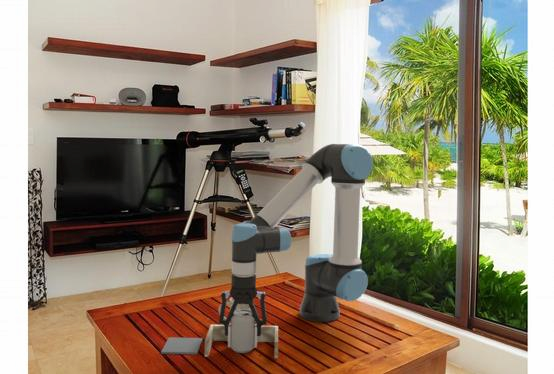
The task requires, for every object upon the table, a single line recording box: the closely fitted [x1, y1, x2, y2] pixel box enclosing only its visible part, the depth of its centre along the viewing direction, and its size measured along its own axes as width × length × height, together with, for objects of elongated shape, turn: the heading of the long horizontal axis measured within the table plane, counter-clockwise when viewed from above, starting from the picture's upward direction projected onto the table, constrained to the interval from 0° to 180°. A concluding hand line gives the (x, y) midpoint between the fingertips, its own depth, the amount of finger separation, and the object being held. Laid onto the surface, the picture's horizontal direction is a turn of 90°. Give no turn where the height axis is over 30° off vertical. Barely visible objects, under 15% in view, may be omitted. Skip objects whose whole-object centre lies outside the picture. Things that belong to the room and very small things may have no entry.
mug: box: [218, 296, 251, 322], centre depth 169 cm, size 8×13×10 cm, turn 78°
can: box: [230, 309, 256, 354], centre depth 150 cm, size 8×8×12 cm
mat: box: [160, 336, 204, 355], centre depth 151 cm, size 11×11×1 cm
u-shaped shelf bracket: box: [204, 324, 279, 359], centre depth 151 cm, size 22×13×5 cm, turn 90°
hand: (242, 345), depth 150 cm, fingers closed on can, 7 cm apart
